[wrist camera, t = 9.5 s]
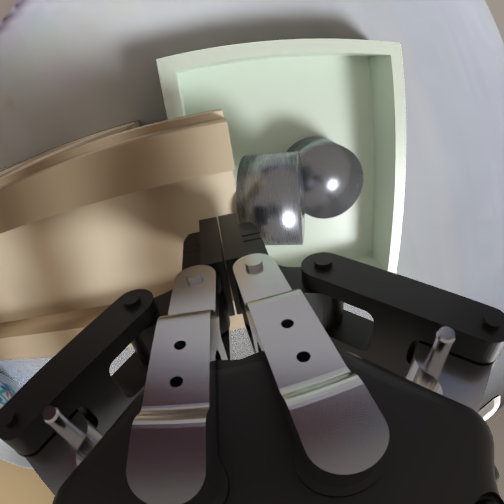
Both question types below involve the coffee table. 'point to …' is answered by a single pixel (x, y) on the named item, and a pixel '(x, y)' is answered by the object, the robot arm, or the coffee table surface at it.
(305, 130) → the tray
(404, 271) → the coffee table surface
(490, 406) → the plane toy
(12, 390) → the chinaware
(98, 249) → the slotted board
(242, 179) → the puck
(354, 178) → the puck
